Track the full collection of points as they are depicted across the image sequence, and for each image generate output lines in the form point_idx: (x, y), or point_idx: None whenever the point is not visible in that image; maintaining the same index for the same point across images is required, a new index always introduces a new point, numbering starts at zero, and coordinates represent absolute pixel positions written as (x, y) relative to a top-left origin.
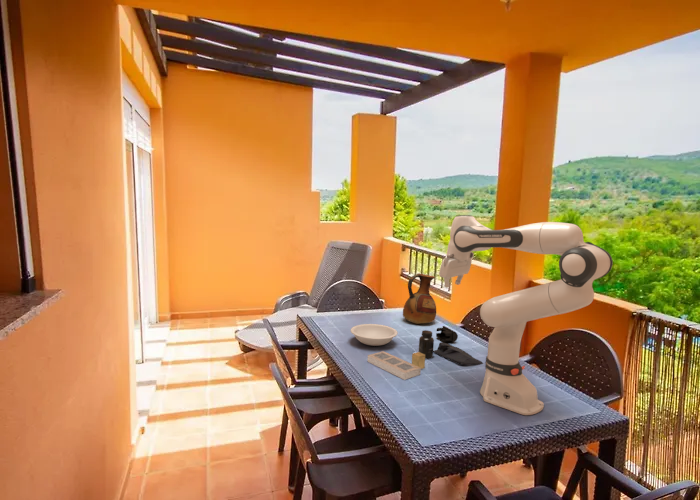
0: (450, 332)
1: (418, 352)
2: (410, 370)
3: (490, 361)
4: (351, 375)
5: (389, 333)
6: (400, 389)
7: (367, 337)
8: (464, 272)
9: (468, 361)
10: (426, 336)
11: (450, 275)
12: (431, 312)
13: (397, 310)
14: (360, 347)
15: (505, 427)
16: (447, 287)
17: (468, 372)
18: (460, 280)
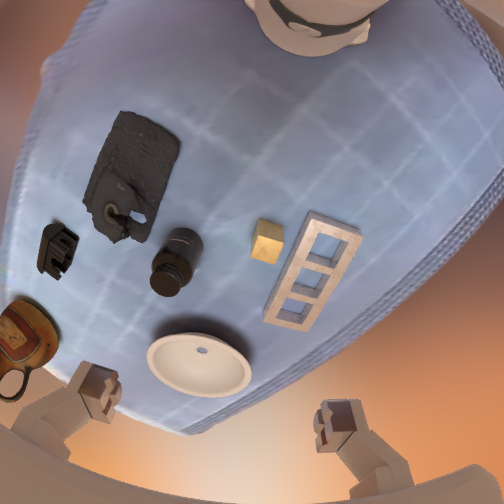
0: (53, 245)
1: (254, 255)
2: (343, 232)
3: (370, 14)
4: (382, 311)
5: (161, 346)
6: (404, 218)
7: (247, 367)
8: (11, 458)
9: (159, 134)
10: (181, 275)
11: (445, 499)
12: (18, 316)
13: None
14: None
15: (436, 10)
16: (358, 400)
17: (209, 113)
18: (76, 394)
